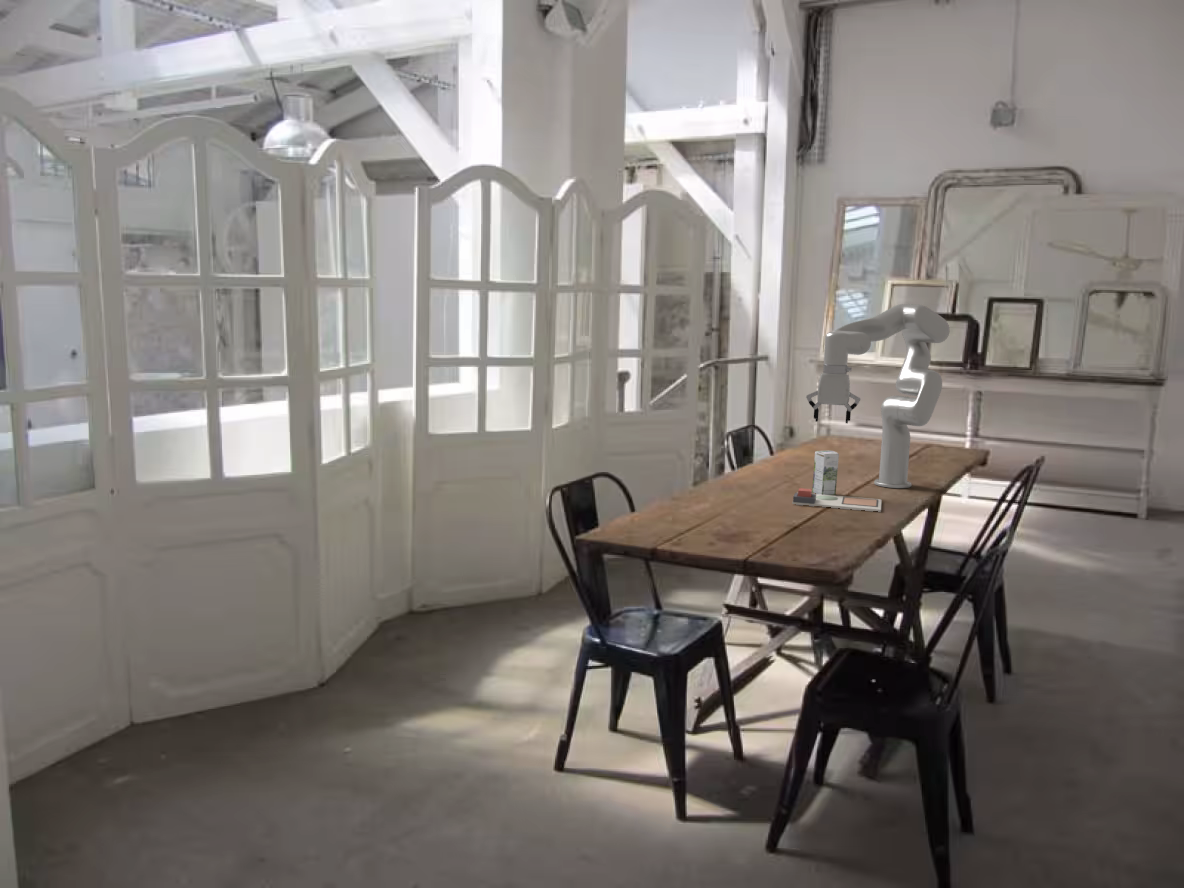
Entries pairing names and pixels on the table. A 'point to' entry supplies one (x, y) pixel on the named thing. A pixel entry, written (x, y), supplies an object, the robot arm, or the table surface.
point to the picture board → (839, 502)
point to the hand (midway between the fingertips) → (831, 422)
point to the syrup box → (825, 472)
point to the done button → (805, 492)
